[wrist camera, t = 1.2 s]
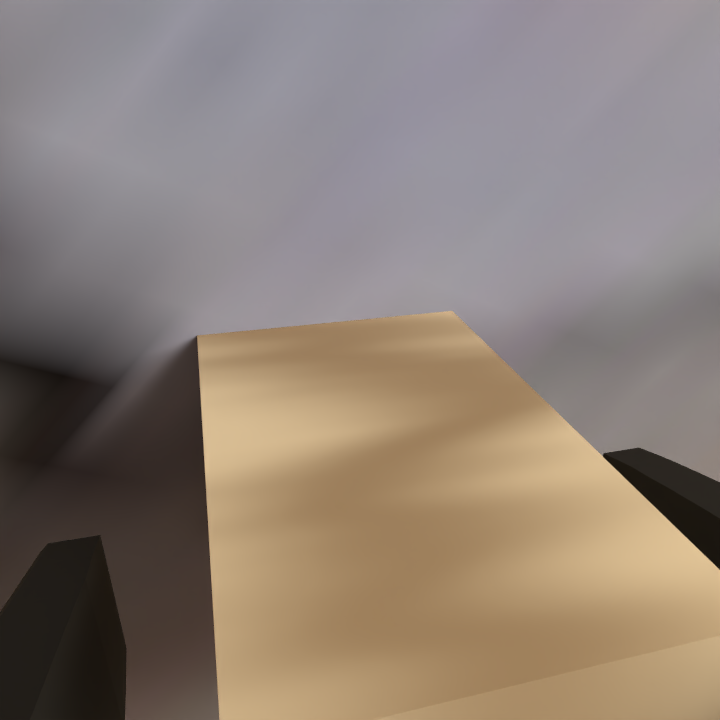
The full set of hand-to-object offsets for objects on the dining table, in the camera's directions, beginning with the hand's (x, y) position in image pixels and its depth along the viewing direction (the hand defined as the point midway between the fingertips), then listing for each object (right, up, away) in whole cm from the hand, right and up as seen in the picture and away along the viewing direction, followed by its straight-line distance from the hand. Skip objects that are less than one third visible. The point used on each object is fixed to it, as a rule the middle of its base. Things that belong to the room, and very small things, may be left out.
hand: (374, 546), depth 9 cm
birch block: (-1, +1, +3) cm, 3 cm away
